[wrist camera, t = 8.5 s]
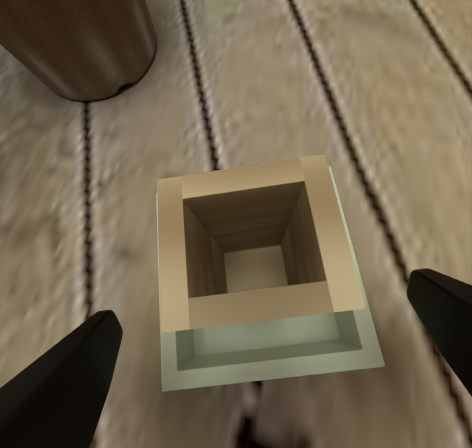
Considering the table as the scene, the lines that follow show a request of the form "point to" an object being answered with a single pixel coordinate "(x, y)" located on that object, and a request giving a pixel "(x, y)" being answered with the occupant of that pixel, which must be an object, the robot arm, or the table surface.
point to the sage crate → (271, 346)
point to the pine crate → (253, 246)
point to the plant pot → (80, 43)
